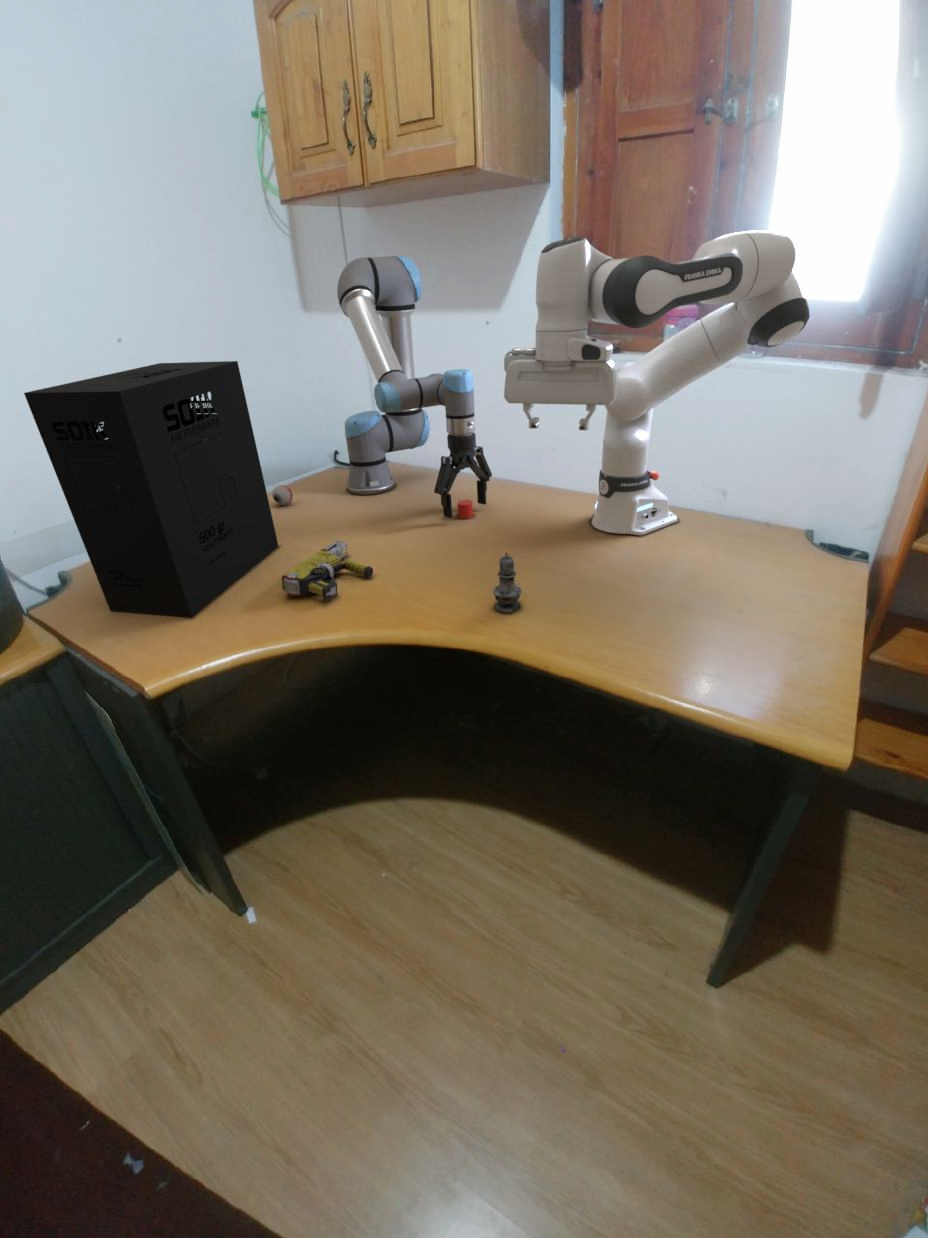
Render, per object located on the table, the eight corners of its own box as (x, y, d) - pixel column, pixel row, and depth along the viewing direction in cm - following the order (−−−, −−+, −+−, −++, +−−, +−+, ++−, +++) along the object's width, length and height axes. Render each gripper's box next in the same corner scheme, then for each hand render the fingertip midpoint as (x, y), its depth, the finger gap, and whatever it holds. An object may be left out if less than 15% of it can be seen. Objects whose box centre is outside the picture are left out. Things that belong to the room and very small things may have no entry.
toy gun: (389, 548, 145) (334, 537, 149) (339, 588, 125) (277, 575, 129) (389, 566, 147) (335, 555, 151) (340, 608, 127) (279, 595, 131)
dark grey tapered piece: (519, 614, 120) (519, 559, 114) (490, 612, 122) (489, 558, 116) (523, 600, 125) (523, 546, 119) (495, 598, 127) (493, 545, 121)
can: (458, 519, 169) (457, 505, 167) (457, 514, 172) (456, 500, 170) (473, 518, 169) (473, 504, 167) (472, 513, 172) (472, 499, 170)
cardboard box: (191, 617, 126) (119, 391, 104) (110, 610, 131) (23, 392, 108) (278, 546, 158) (237, 360, 135) (210, 542, 162) (159, 363, 140)
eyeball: (269, 507, 186) (265, 488, 183) (282, 500, 191) (278, 481, 188) (285, 508, 183) (282, 489, 180) (298, 502, 188) (294, 483, 185)
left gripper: (436, 445, 149) (442, 525, 160) (503, 425, 164) (504, 500, 175) (416, 441, 154) (423, 519, 164) (483, 422, 169) (485, 495, 179)
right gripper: (498, 350, 106) (500, 430, 113) (616, 349, 99) (610, 434, 106) (509, 346, 111) (509, 423, 118) (622, 344, 104) (616, 426, 111)
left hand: (465, 510), depth 170 cm, fingers open, 13 cm apart
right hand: (558, 428), depth 112 cm, fingers open, 8 cm apart
